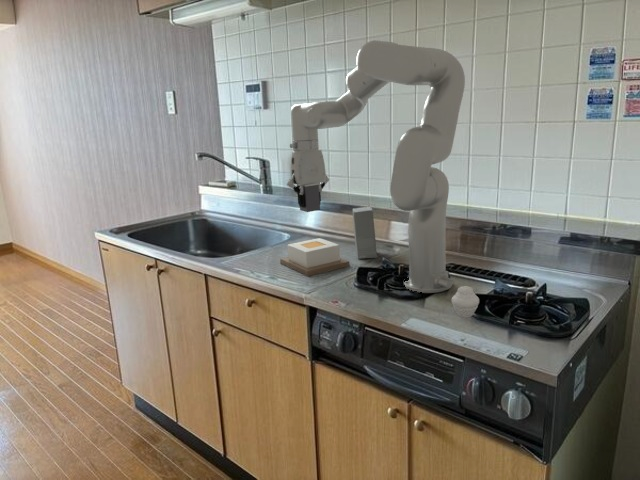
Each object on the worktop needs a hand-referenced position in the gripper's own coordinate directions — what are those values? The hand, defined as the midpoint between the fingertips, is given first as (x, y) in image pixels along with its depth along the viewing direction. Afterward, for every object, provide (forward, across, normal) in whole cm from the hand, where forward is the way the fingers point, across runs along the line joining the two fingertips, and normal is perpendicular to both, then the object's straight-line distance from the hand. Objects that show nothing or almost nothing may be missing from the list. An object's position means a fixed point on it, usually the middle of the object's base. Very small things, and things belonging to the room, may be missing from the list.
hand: (309, 205), depth 157 cm
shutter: (+14, 0, 0) cm, 14 cm away
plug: (+2, 0, 0) cm, 2 cm away
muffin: (+19, +6, -58) cm, 62 cm away
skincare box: (+19, +18, -3) cm, 27 cm away
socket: (+19, 0, 0) cm, 19 cm away
